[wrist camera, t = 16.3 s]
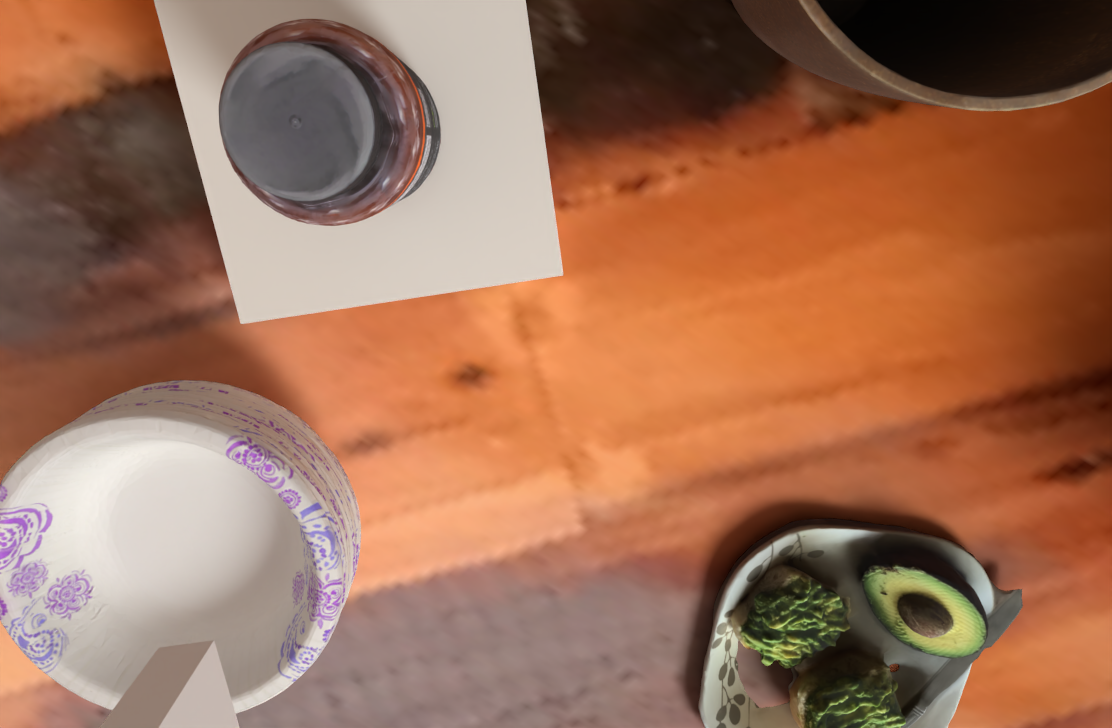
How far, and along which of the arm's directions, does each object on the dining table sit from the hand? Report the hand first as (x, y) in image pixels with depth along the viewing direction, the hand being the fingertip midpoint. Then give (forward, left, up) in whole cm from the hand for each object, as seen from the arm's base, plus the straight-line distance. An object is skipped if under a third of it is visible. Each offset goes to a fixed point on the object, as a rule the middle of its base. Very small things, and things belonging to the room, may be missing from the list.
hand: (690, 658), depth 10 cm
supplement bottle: (+7, -9, -23) cm, 26 cm away
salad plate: (-14, +23, -29) cm, 40 cm away
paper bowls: (+19, +8, -28) cm, 35 cm away
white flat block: (+7, -9, -28) cm, 30 cm away
